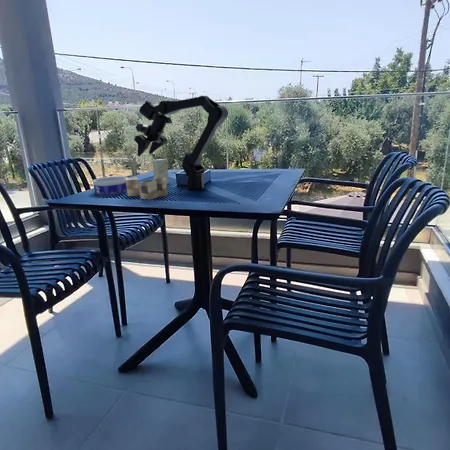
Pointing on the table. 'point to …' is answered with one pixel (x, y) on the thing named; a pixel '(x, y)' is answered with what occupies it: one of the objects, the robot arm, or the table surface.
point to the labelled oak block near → (148, 189)
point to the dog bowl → (110, 185)
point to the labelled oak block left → (161, 186)
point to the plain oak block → (132, 186)
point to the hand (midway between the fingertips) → (144, 154)
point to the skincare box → (160, 169)
